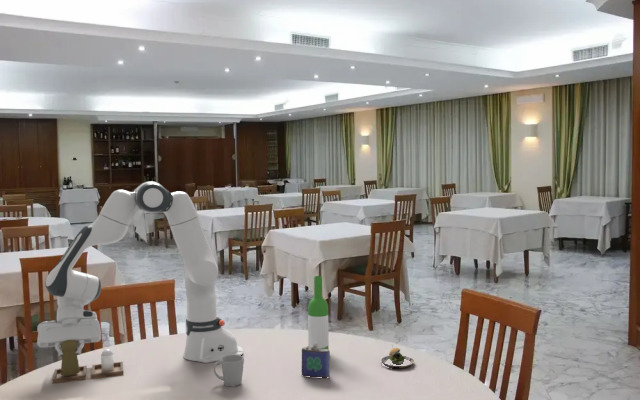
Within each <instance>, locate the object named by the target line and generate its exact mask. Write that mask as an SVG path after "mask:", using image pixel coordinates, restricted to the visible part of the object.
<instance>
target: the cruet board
mask: <svg viewBox="0 0 640 400" xmlns="http://www.w3.org/2000/svg"><path fill="white" fill-rule="evenodd" d="M87 366H88V365H79V369H80V372H79V373H77V374H75V375H70V376H63V375H61V368H55V369H54V371H53V377H52V384H51V385H57V384H64V383H73V382H81V381H90V380H96V379H103V378H104V379H105V378H115V377H123V376H124V375H125V374H124V361H116V362H115V361H114V371H112V372H103V373H102V369H101V363H98V364H97V363H96V364H92V365H91V367H87Z"/></svg>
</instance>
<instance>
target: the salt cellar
mask: <svg viewBox="0 0 640 400" xmlns="http://www.w3.org/2000/svg"><path fill="white" fill-rule="evenodd" d="M114 358H115V357H114V352H113V350H112V349H108V348H107V349H104V350H103V351H102V352H101V353H100V360H101V361H100V364H101V369H102V373H103V372H112V371H114V362H115V360H114Z"/></svg>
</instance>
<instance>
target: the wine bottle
mask: <svg viewBox="0 0 640 400" xmlns="http://www.w3.org/2000/svg"><path fill="white" fill-rule="evenodd" d="M313 280H314V284H313V285H314V286H313V290H314V291H313V292H314V293H313V298H311V300H310V301H309V302H308V306H307V307H308V308H307V310H308V311H307V319H308V320H307V325H308V326H307V334H308V335H307V337H308V338H307V339H308V340H307V343H308V345H307V346H308V347H309V348H310V347H313V346H314V345H313V344H316V343H317V344H318V345H317V349H328V350H329V349H330V348H329V347H330V346H329V344H330V342H329V304H328V301H327V299H325V298H324V297H323V277H322V276H321V275H315V276H314V278H313ZM329 351H330V350H329Z"/></svg>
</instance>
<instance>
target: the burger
mask: <svg viewBox="0 0 640 400" xmlns="http://www.w3.org/2000/svg"><path fill="white" fill-rule="evenodd" d="M388 359H390V360H391V361H392V363H393V364H396V365H401V364H403V362H404V359H406V360H409V361H410V362H411V364H410V365H407V366H393V365H391V364H390V365H388V364H385V362H386V361H387V360H388ZM381 363H383V364H384V365H385V366H387V367H389V368H393V369H394V368H398V367H399V368H406V367H407V368H408V367H409V366H411V365H412V364H414V359H413V358H411V357H408V356H406V355H402V353H401V349H400V348H397V347H394V346H393V345H392V349H390V351H389V352H388V355H387V356H383V357H382V358H381Z"/></svg>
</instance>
